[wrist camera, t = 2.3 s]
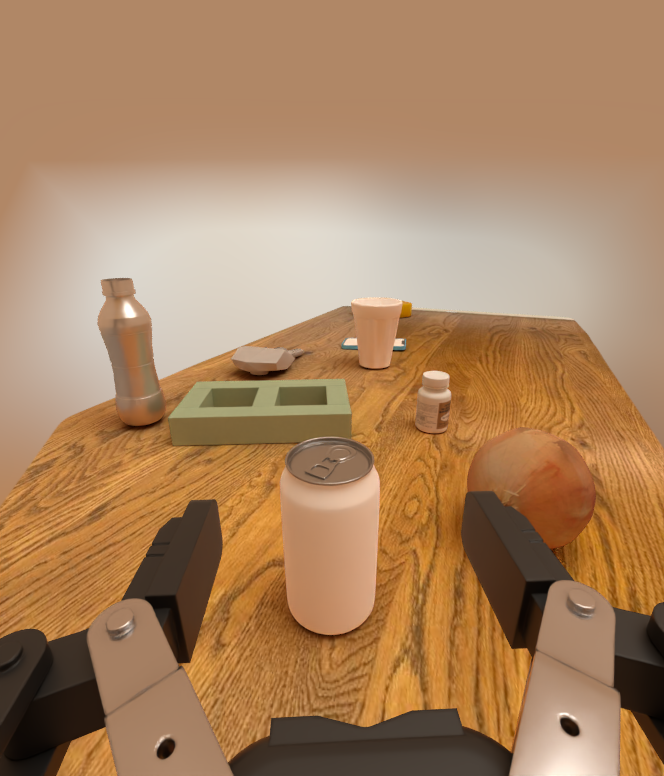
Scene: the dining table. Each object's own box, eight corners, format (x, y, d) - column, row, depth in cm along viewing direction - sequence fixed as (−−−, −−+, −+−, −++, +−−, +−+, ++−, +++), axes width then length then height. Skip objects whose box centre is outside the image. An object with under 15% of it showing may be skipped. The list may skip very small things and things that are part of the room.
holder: (351, 441, 51) (351, 413, 50) (172, 446, 50) (167, 417, 49) (344, 402, 63) (344, 378, 62) (200, 405, 62) (196, 381, 61)
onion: (445, 543, 34) (458, 442, 30) (478, 487, 42) (491, 400, 38) (573, 598, 29) (607, 484, 25) (585, 522, 36) (612, 426, 33)
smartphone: (345, 337, 99) (406, 338, 96) (345, 342, 100) (405, 343, 97) (340, 345, 92) (405, 346, 89) (340, 350, 93) (405, 351, 90)
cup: (344, 370, 78) (344, 304, 73) (357, 356, 87) (358, 296, 82) (394, 375, 75) (398, 306, 70) (402, 360, 84) (406, 298, 79)
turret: (312, 364, 88) (313, 343, 87) (271, 380, 70) (271, 353, 69) (272, 360, 91) (272, 340, 90) (222, 374, 73) (222, 349, 72)
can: (389, 585, 30) (397, 448, 26) (347, 658, 25) (348, 502, 20) (319, 552, 33) (315, 425, 29) (269, 610, 28) (255, 466, 24)
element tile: (413, 316, 128) (414, 301, 127) (375, 321, 122) (376, 305, 120) (386, 309, 141) (387, 296, 139) (350, 313, 134) (351, 299, 132)
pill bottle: (446, 436, 52) (452, 382, 49) (412, 431, 53) (416, 378, 51) (448, 422, 56) (454, 371, 53) (417, 418, 57) (421, 368, 54)
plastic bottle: (160, 408, 61) (136, 276, 54) (175, 423, 56) (150, 279, 49) (115, 419, 58) (83, 279, 50) (126, 436, 53) (92, 283, 45)
